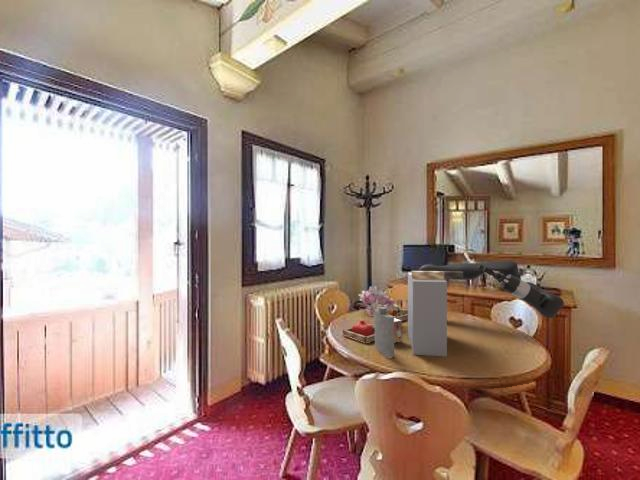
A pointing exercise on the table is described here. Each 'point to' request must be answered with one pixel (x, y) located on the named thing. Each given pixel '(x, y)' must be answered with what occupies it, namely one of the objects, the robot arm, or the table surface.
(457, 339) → the table surface
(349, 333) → the frame
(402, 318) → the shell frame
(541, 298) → the robot arm
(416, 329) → the cabinet
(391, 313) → the nautilus
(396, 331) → the small box
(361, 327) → the butter dish
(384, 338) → the hip flask
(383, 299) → the flower
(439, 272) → the dark brown square bar
